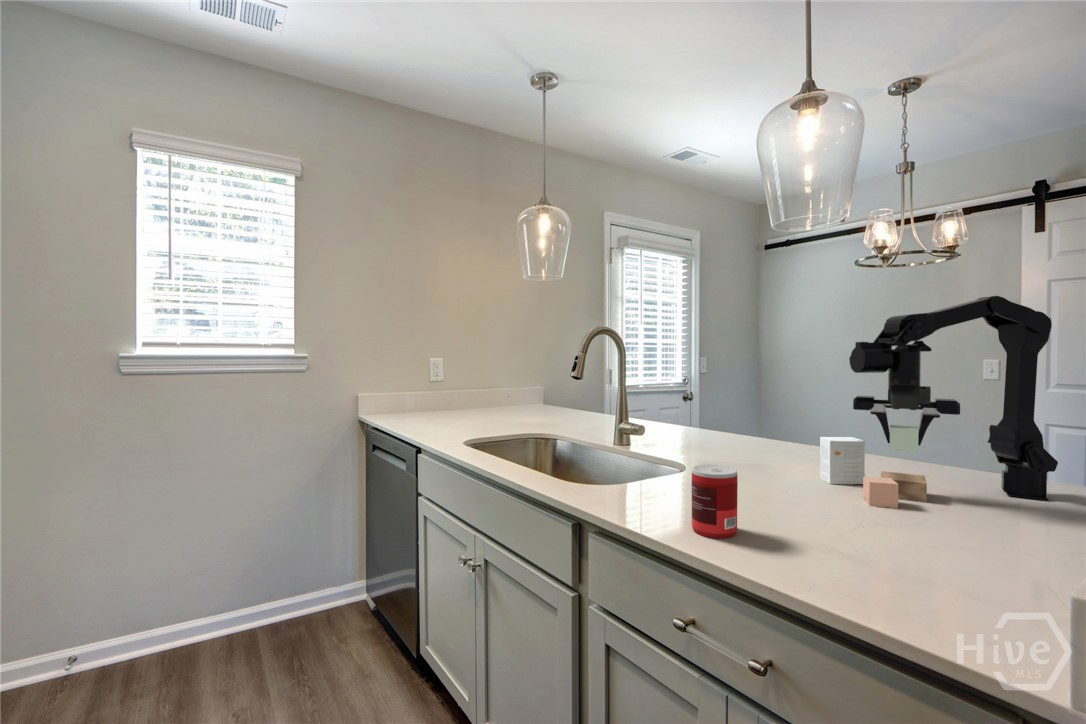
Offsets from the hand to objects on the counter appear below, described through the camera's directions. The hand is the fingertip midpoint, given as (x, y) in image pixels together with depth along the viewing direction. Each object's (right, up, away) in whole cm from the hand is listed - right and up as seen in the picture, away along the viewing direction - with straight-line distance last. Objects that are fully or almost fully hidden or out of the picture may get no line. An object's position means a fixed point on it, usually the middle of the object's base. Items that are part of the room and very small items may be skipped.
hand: (903, 444), depth 112 cm
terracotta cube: (-9, -12, -6) cm, 16 cm away
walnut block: (0, -11, 0) cm, 11 cm away
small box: (-7, -11, +12) cm, 18 cm away
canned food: (-48, -12, -21) cm, 54 cm away
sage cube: (0, -1, 0) cm, 1 cm away
